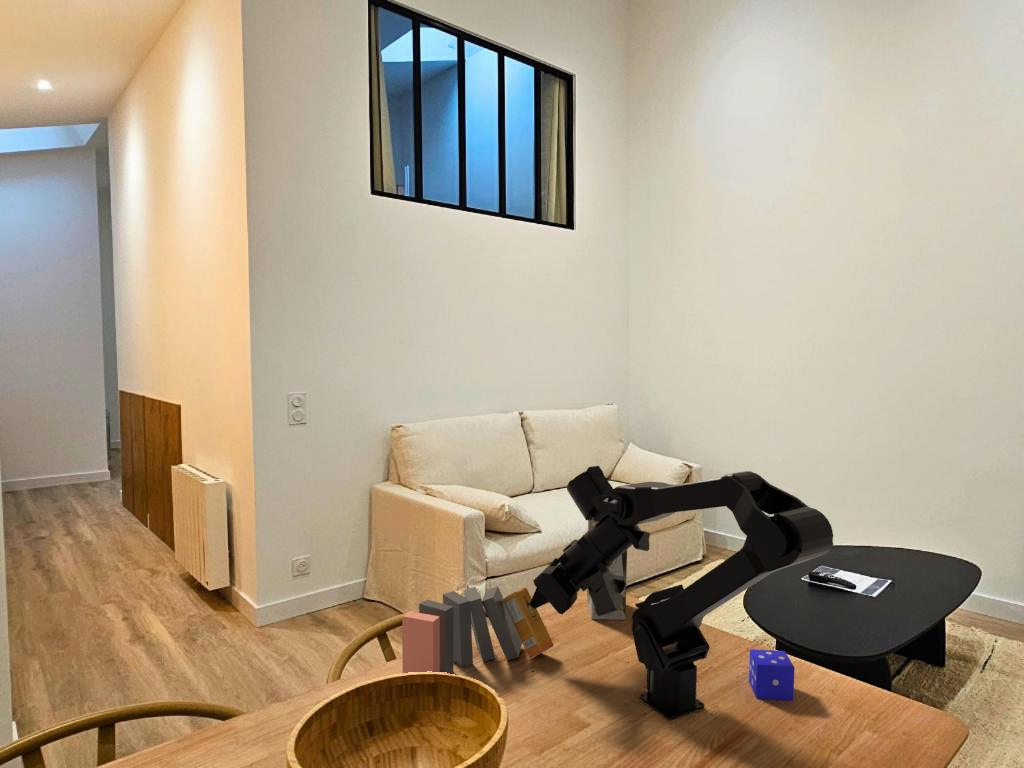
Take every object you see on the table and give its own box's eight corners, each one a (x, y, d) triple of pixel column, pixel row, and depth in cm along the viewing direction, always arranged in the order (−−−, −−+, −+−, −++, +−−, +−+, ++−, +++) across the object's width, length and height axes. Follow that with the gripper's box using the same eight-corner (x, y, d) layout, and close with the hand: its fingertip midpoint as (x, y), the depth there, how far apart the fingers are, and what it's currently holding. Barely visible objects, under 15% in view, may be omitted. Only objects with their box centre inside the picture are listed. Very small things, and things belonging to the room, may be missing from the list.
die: (756, 699, 97) (757, 664, 97) (748, 681, 102) (749, 648, 102) (793, 701, 96) (794, 666, 96) (784, 684, 101) (785, 650, 101)
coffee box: (627, 620, 124) (628, 531, 123) (590, 620, 124) (592, 531, 123) (619, 601, 133) (621, 518, 132) (586, 600, 133) (587, 517, 132)
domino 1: (409, 677, 103) (409, 611, 102) (439, 683, 101) (439, 616, 100) (402, 683, 101) (402, 616, 100) (433, 690, 99) (433, 621, 98)
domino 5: (522, 642, 113) (497, 585, 113) (518, 656, 108) (493, 597, 108) (511, 646, 113) (486, 590, 113) (506, 660, 108) (481, 601, 108)
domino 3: (456, 651, 111) (453, 590, 110) (473, 663, 107) (470, 600, 106) (445, 655, 110) (442, 594, 109) (461, 667, 106) (458, 604, 105)
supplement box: (540, 652, 111) (514, 593, 114) (555, 646, 109) (528, 586, 112) (527, 659, 109) (501, 598, 112) (542, 653, 107) (515, 591, 110)
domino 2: (427, 662, 107) (427, 599, 106) (453, 671, 104) (453, 606, 104) (419, 667, 105) (419, 603, 105) (445, 676, 103) (445, 610, 102)
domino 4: (489, 644, 113) (475, 586, 112) (495, 658, 108) (481, 598, 107) (477, 648, 112) (463, 590, 111) (483, 662, 107) (468, 602, 106)
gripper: (627, 609, 94) (548, 674, 99) (649, 567, 112) (582, 623, 116) (572, 546, 96) (497, 612, 101) (602, 514, 114) (537, 571, 118)
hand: (532, 605), depth 109 cm, fingers closed
